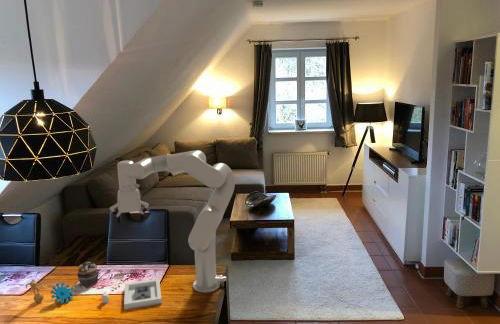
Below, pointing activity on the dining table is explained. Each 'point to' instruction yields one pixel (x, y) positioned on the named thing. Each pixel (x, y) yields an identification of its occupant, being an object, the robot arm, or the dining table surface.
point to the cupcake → (87, 274)
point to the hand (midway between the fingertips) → (131, 222)
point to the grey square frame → (142, 292)
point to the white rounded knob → (105, 298)
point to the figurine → (38, 296)
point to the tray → (132, 303)
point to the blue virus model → (62, 292)
